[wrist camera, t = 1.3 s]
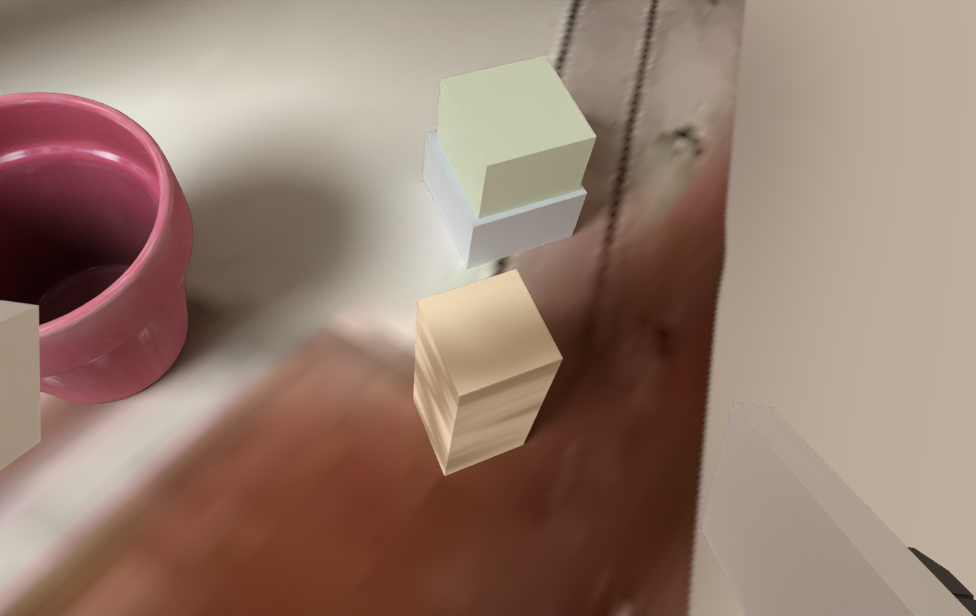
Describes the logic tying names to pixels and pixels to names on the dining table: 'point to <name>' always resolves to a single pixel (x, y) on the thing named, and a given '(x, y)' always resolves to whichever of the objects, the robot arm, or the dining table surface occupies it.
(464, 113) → the tower top
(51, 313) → the plant pot
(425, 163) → the tower base
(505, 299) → the pillar
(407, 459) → the dining table surface
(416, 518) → the dining table surface
